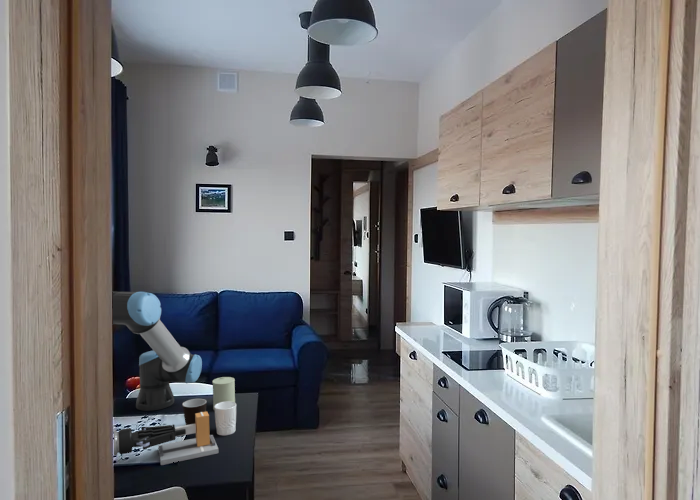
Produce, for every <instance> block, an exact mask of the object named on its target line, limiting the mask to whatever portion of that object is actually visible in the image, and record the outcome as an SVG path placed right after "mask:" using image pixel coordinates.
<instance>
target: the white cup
mask: <svg viewBox="0 0 700 500" xmlns="http://www.w3.org/2000/svg"><path fill="white" fill-rule="evenodd" d="M214 409H215V410H214ZM214 409H213V410H214V420H215V428H216V434H217V435H219V436H230V435H233V434H235V432H236V427H237V426H236V423H237V403H236V401H235V402H230V401H227V402H221V403H218V404H216V405H215V406H214Z"/></svg>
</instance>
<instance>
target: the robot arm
mask: <svg viewBox="0 0 700 500" xmlns="http://www.w3.org/2000/svg"><path fill="white" fill-rule="evenodd" d="M112 292H113V324H112V325H124V326H126V327H127V328H128V329H129V331H130V332H132V333H133V334H137V335H140V336H141V338H142V339H143V340H144V341H145V342H146V343H147V344H148V345H149V347H150V349H152V350H150V351H146V352H143V353H141V354H140V355H139V358H138V359H139V360H138V361H139V362H138V363H139V364H138V367H139V371H138V373H139V391H138V395H137V398H136V401H135V402H136V403H135V408H136V409H137V410H139V411H143V412H144V411H145V412H149V411H150V412H151V411H159V410H163V409H166V408H169V407H170V406H172V405H174V403H175V396H174V393H173V390H172V388H171V386H170V383H183V384H194V383H195V382H196V381H197V380H198V379H199V377H200V375H201V373H202V369H203V368H202V367H203V366H202V365H203V361H202V357H201V356H200V355H198V354H196V353H195V354H192V353H191V352H190V351H189V349H188V348H186V347H184V346H181V345H180V344H179V342H177V341H176V339H175V338H174V336H173V335H172V333H171V332H170V331H169V330H168V329H167V327H166V325H165V324H164V323H163V322H162V321H161V315H162V307H161V306H162V305H161V301H160V299H159V298H158V297H157V295H155V294H154V293H151V292H146V291H112ZM113 431H114V456H113V457H115V456H117V455H118V454H119V455H126V454H130V453H132V452H133V448H140V447H142V450H146V449H149V448H150V447H154V446H158V445H163V444H167V443H168V442H169V443H170V442H172V441H176V440H177V439H176V437H181V436H186V435H187V436H188V435H192V434H196V424H190V425H186V424H184V425H180V426H179V425H178V426H176V425H175V424H173V423H172V424H167V425H157V426H156V425H155V426H142V427H141V429H139V430H138V431H134V432H132V431H133V430H132V428H131V427H128V428H122V429H119V430H118V431H117V430H116V429H115V430H113Z"/></svg>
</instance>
